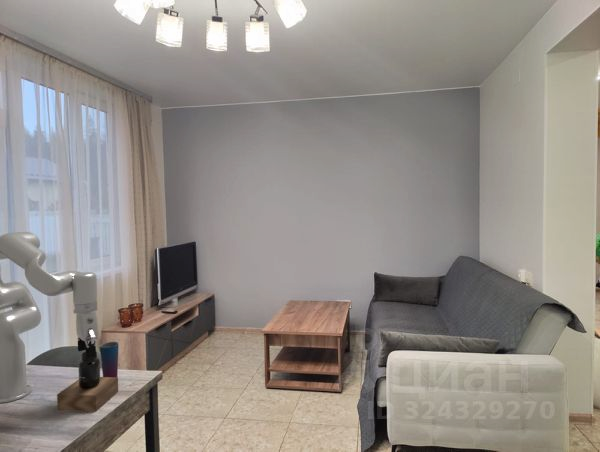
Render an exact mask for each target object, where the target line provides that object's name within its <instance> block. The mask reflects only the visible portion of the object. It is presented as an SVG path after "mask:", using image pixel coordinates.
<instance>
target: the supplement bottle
mask: <svg viewBox="0 0 600 452" xmlns="http://www.w3.org/2000/svg"><path fill="white" fill-rule="evenodd" d="M100 377H101V359H99V357H98V351H96V357H93V358H89V359H86V353H85V351H84V352H82V353H81V360H80V361H79V363H78V380H79V386H80V387H81V388H83V389H90V388H93V387H95V386H97V385H98V384H99V383H100Z"/></svg>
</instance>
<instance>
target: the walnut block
mask: <svg viewBox="0 0 600 452" xmlns="http://www.w3.org/2000/svg"><path fill="white" fill-rule="evenodd" d="M118 377H119V376H117V377H103V376H100V383H99V384H98V385H97V386H95V387H93V388H90V389H83V388H81V387H80V386H79V379H77V380H76V381H74V382H73V383H71V384H70V385H69V386H67V387H66V388H64V389H63V390H61V391H60V392H59V393H57V394H56V403H57V404H56V405H57V411H63V412H65V411H66V412H67V411H72V412H73V411H75V412H97V411H99V410H100V409H101V408H103V406H105V404H106V403H108V402H109V401H110V400H111V399H112V398H113V397H114V396H115V395H116V394H118V393H119V378H118Z"/></svg>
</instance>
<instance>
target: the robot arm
mask: <svg viewBox="0 0 600 452" xmlns="http://www.w3.org/2000/svg"><path fill="white" fill-rule="evenodd" d="M40 247H41V240H40V238H39V237H38V236H37V234H34V233H33V232H31V231H20V232H9V233H5V234H2V235H0V260H9V261H11V262H13V263H14V264H16V265H17V266H18V267H20V268H21V269H23V270H24V276H25V279H26V281H27V282H28V284H29V285H30V286H31V287H32V288H34V289H35V290H37V291H38V292H39V293H41V294H43V295H45V296H48V297H58V296H60V295H63V294H67V293H71V292H72V302H73V303H72V305H73V306H72V307H73V314H75V316H76V318H75V324H76V325H75V329H76V330H75V331H76V336H77V351H78V352H83V351H84V352H85V353H86V359H89V358H93V357H96V352H97V348H96V347H97V342H96V340H97V339H98V338H99V327H98V325H99V324H98V318H97V317H98V315H97V313H96V312H97V311H98V286H97V285H98V283H97V274H95V272H89V271H84V272H81V271H77V270H67V271H62V272H58V273H54V274H51V273H50V272H49V271H46V270H45V269H44V268H43V267H42V266H43V265H44V263H45V261H46V259H47V254H46V253H45V251H43V250H42V249H41V248H40ZM9 308H11V310H7V311H3V310H6V309H9ZM0 311H3V312H1V313H0V404H3V403H8V402H9V403H10V402H13V401H17V400H20V399H22V398H24V397H27V396H28V395H30V393H31V392H32V391H33V389H32V388H33V387H32V385H30V384H28V383H27V364H26V363H27V361H26V360H27V359H26V346H25V343H24V341H23V340H22V339H21V337H20V334H21V335H22V334H23V333H25V332H28V331H31V330H33V329H36V327H38V326H40V324H41V321H42V315H41V311H40V308H39V307H38V305H37V303H36V301H35V299H34V296H33V294H32V293H31V291H30V289H29V288H28V286H27V285H25V284H24V283H22V282H20V281H9V282H4V281H3V279H2V278H1V277H0Z"/></svg>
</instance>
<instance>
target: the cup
mask: <svg viewBox="0 0 600 452" xmlns="http://www.w3.org/2000/svg"><path fill="white" fill-rule="evenodd" d="M99 350H100V364H101V370H102V371H101V372H102V377H118V373H119V372H118V369H119V368H118V367H119V342H118V341H107V342H103V343H101V344H100V345H99Z"/></svg>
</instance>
